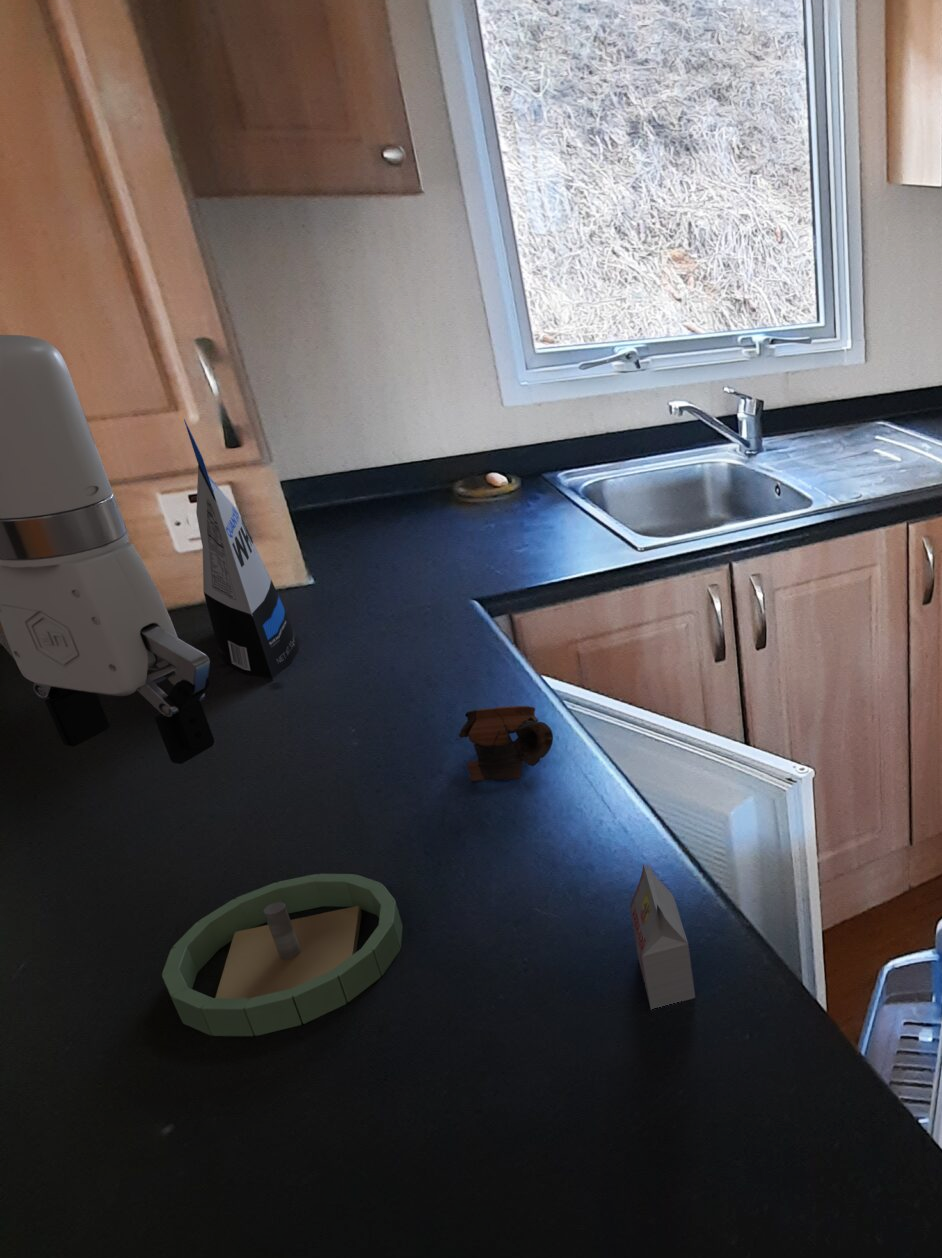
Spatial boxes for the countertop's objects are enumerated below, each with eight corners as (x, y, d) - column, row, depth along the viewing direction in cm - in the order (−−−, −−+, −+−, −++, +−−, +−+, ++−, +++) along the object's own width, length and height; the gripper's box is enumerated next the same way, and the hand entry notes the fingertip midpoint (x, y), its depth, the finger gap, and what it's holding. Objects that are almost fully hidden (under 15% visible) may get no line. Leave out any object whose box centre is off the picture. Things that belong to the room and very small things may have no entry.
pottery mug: (443, 785, 118) (438, 712, 118) (505, 779, 127) (500, 711, 127) (530, 777, 114) (524, 702, 115) (587, 771, 123) (582, 701, 123)
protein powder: (231, 690, 136) (154, 464, 123) (210, 627, 153) (141, 423, 140) (313, 671, 141) (248, 452, 128) (284, 612, 158) (225, 414, 145)
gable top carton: (680, 947, 94) (668, 857, 90) (695, 997, 89) (682, 904, 84) (638, 958, 93) (623, 867, 88) (650, 1010, 87) (635, 916, 83)
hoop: (152, 1061, 82) (139, 1033, 81) (199, 925, 96) (188, 899, 95) (396, 1002, 88) (388, 975, 87) (406, 881, 102) (399, 856, 101)
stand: (215, 1017, 86) (192, 961, 83) (237, 940, 94) (217, 887, 92) (352, 984, 90) (334, 930, 87) (362, 913, 98) (346, 861, 95)
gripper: (-106, 535, 69) (-2, 756, 77) (105, 559, 66) (192, 788, 74) (9, 501, 76) (95, 708, 84) (207, 522, 72) (277, 736, 80)
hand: (140, 745), depth 79 cm, fingers open, 9 cm apart
